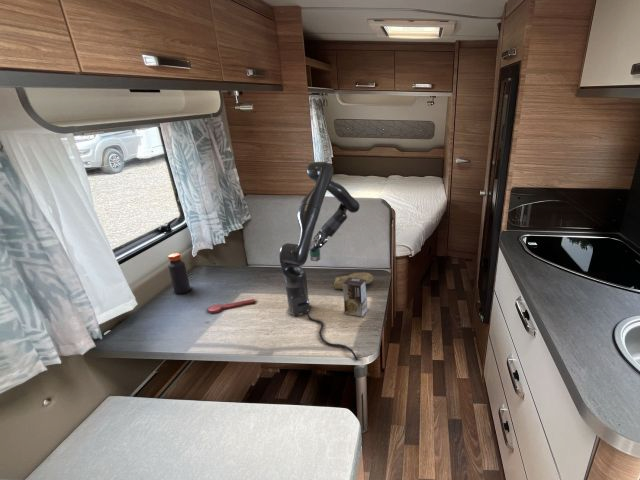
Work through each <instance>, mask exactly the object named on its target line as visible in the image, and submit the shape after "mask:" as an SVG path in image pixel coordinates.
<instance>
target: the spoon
mask: <svg viewBox="0 0 640 480" xmlns="http://www.w3.org/2000/svg"><path fill="white" fill-rule="evenodd" d="M251 304H252V305H253V304H255V298H252V299H247V300H242V301H235V302H231V303H225V304H222V303H215V304H212V305H210V306H208V308H207V312H208V313H210V314H216V313H219V312H221V311H222V310H227V309H231V308H236V307H242V306H246V305H251Z"/></svg>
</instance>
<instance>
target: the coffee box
mask: <svg viewBox="0 0 640 480" xmlns="http://www.w3.org/2000/svg"><path fill="white" fill-rule="evenodd" d="M342 292H343V293H342V294H343V305H344V314H346V315H351V316H357V317H364V316H365V314H366V312H367V311H368V293H367V292H368V291H367V284H366V280H364V279H357V278H350V277H349V278H348V279H347V280H346V281H345V282H344V283H343V289H342Z"/></svg>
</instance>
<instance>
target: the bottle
mask: <svg viewBox="0 0 640 480" xmlns="http://www.w3.org/2000/svg"><path fill="white" fill-rule="evenodd" d="M167 259H168V261H169V264H168V265H167V267H168V272H169V276H170V279H171V283H172V287H173V291H174V293H175V294H177V295H178V294H185V293H188V292H189V291H190V290H191V284H190V281H189V276H188V271H187V268H186V264H185V262H184V261H183V260H181V259H182V258H181V254H180V253H178V252H174V253H170V254H168V255H167Z"/></svg>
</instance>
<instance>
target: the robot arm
mask: <svg viewBox="0 0 640 480" xmlns="http://www.w3.org/2000/svg"><path fill="white" fill-rule="evenodd" d="M306 173H307V176H308V178H309V179H310V180H312V181H313V182H315V185H314V187H312V189H311V190H310V191H309V192H308V193H307V194H306V195H305V196H304V197H303V199H302V200H301V202H300V204H299V207H298V211H297V214H296V219H297V222H298V226H299V231H300V237H299V241H298V243H297V244H296V243H289V242H288V243H284V244H283V245H282V246H281V247H280V249H279V256H278V257H279V263H280V268H281V274H282V275H283V277H284V283H285V291H286V298H287V307H288V313H289V314H290V315H292V316H293V317H298V316H302V315H306V316H307V317H308V319H309V320H310V321H312V322H316V323H319V324H321V327H320V329H319V333H318V334H319V338H320V340H321V341H322V342H323V343H324V344H326V345H328V346H332V347H333V346H334V347H342V348H345V349H346V350H348V351H349V352H350V353H351V354H352V356H353V357H354V359H355V361H358V360H359V359H358V356H357V355H356V353H355V351H353V349H352V348H350V347H349V346H347V345H345V344H339V343H331V342H328V341H326V340H325V339H324V338H323V336H322V330H323V328H324V323H323V322H322V321H321V320H318V319H314V318H312V317H311V316H310V313H309V312H310V310H311V308H310V307H311V306H310V300H309V289H308V281H307V280H308V279H307V271H306V270H305V268H303V266H305V264H306V262H307V260H308V258H309V255H310V245H311V241H317V243H316V245H315V246H314V247H313V248H312V249H311V251H312V252H313V253H314V252H315V251H316V250H317V249H318V248H320V249H321V248H323V246H324V245H325V244H326V243H328V237H330V238H332V237H333V236H334V235H335V234H336V233H337V231H338V230H339V229H340V228H341V226H342V225H343V224H344V223H345V222H346V220H348V214H347V211H348V212H349V213H351V214H354V213H358V212H359V210H360V208H361V206H360V203H359V201H357V199H355V198H354V197H353V196H352V195H351V194H350V193H349V191H348V190H347V189H346V188H345V187H344V186H343V185H342V184H340V183H338V182H337V181H335V180H333V177H334V166H333V164H332V163H331V162H329V161H312V162H310V163H309V164H308V165H307V167H306ZM327 192H328V193H330V194H331V195H332V196H333V197H334V198H335V199H336V200H337V201H338V202H339V205H338V207H337V210H336V211H335V212H334V213H333V215H332V216H331V217H330V218H328V220H327V221H326V222H325V223H324V224H323V225H322V226H321V228H320V230H318V232H317V233H316V235H314V232H315V228H316V225H317V222H318V219H319V216H320V213H321V209H322V205H323V202H324V199H325V197H326V193H327ZM313 236H314V237H313ZM312 239H313V240H312ZM360 398H361V399H360V400H361V425H362V431H365V413H364V411H365V410H364V392H362V393H361V397H360Z"/></svg>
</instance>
